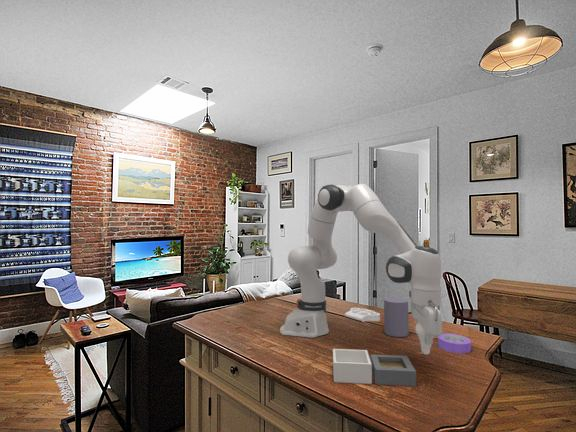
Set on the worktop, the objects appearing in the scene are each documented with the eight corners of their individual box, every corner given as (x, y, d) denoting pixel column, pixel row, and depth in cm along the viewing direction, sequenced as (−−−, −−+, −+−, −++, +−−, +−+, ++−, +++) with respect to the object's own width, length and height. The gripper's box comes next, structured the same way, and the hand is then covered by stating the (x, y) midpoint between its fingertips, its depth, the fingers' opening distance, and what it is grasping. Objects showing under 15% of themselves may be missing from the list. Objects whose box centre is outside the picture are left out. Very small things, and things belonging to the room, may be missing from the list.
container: (410, 338, 144) (409, 303, 144) (385, 336, 146) (384, 302, 146) (406, 330, 154) (406, 297, 154) (383, 329, 156) (383, 297, 156)
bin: (333, 382, 105) (333, 362, 105) (333, 366, 116) (332, 348, 116) (371, 383, 103) (371, 364, 103) (367, 367, 115) (367, 350, 115)
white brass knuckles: (340, 316, 179) (358, 312, 187) (367, 324, 164) (385, 319, 173) (340, 310, 179) (358, 306, 187) (367, 317, 164) (385, 313, 173)
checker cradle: (375, 384, 103) (375, 369, 103) (370, 367, 115) (370, 354, 115) (416, 386, 102) (416, 371, 102) (406, 369, 114) (406, 355, 114)
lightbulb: (412, 351, 110) (412, 317, 110) (430, 350, 111) (430, 317, 111) (421, 358, 104) (421, 323, 104) (439, 358, 105) (440, 323, 105)
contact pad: (382, 374, 105) (382, 371, 105) (378, 365, 112) (378, 361, 112) (406, 375, 104) (406, 372, 104) (401, 365, 111) (400, 362, 111)
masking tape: (475, 348, 133) (475, 338, 133) (465, 356, 125) (465, 346, 125) (444, 340, 141) (444, 331, 141) (433, 348, 133) (433, 338, 133)
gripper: (448, 306, 97) (448, 354, 97) (426, 290, 117) (425, 330, 117) (425, 305, 98) (425, 353, 98) (407, 290, 118) (407, 329, 118)
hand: (425, 340), depth 108 cm, fingers closed on lightbulb, 5 cm apart
